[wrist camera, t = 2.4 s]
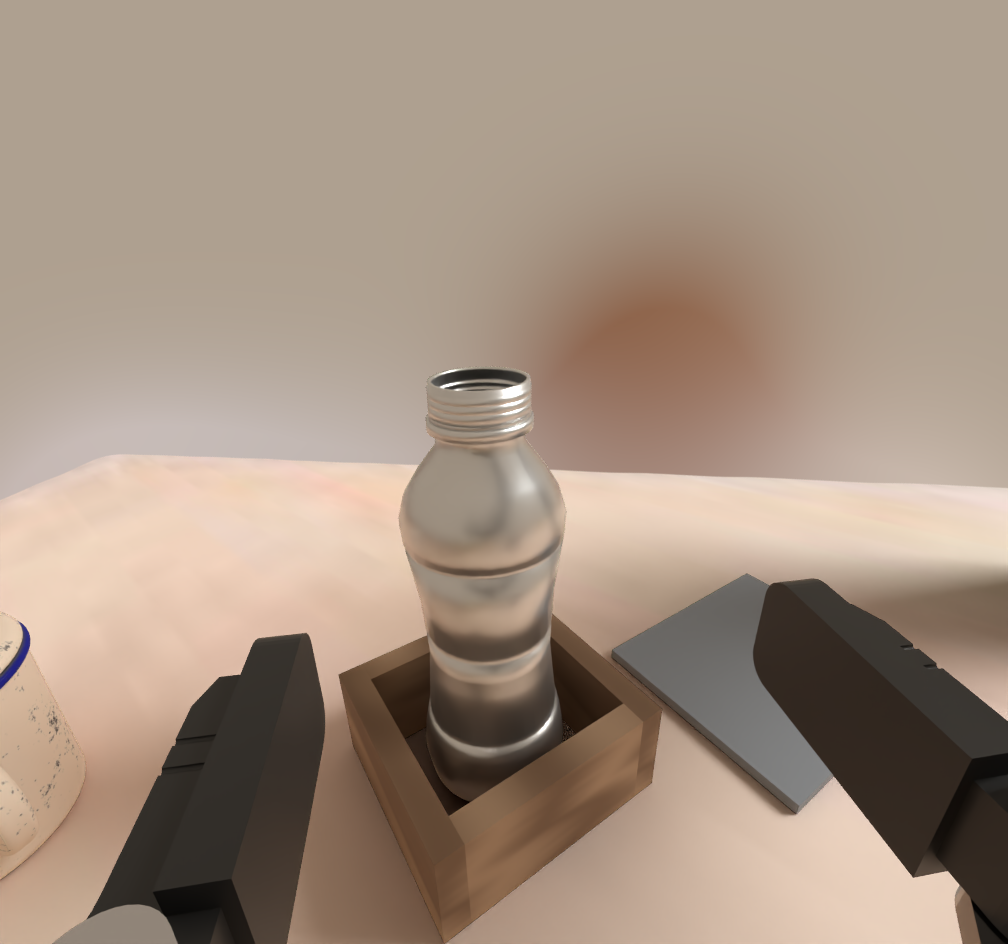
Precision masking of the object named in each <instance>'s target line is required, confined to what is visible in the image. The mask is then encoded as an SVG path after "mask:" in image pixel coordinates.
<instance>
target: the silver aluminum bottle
mask: <svg viewBox="0 0 1008 944" xmlns="http://www.w3.org/2000/svg"><path fill="white" fill-rule="evenodd" d="M426 389H427V403H428V415H427V417H426V430H427V433H428V434H429V435H430V436H432V437H433V438H435V444H434V446H433V447H432V448H431V450H430V451H429V453H428V454H427V455H426V457H425V458H424V459H423V461H422V462H421V464H420V465H419V466H418V468H417V469H416V471H415V473H414V475H413V477H412V478H411V480H410V482H409V484H408V485H407V487H406V489H405V491H404V494H403V497H402V503H401V508H400V513H399V526H400V531H401V535H402V540H403V545H404V547H405V550H406V554H407V558H408V561H409V564H410V567H411V571H412V574H413V577H414V580H415V584H416V587H417V590H418V593H419V597H420V600H421V604H422V610H423V615H424V621H425V626H426V630H427V637H428V643H429V648H430V699H429V705H428V712H427V725H426V741H427V748H428V751H429V754H430V757H431V759H432V762H433V764H434V767H435V769H436V772H437V774H438V776H439V778H440V779H441V781H442V782H443V784H444V785H445V786H446V787H447V788H448V789H449V790H450V791H451V792H452V793H454V794H455V795H457V796H459V797H460V798H462V799H464V800H467V801H470V802H471V801H473V800H475V799H476V798H478V797H479V796H481V795H482V794H484V793H485V792H487V791H488V790H490V789H492V788H493V787H495V786H496V785H498V784H499V783H501V782H502V781H504V780H506V779H507V778H509V777H510V776H512V775H513V774H515V773H516V772H518V771H519V770H521V769H523V768H524V767H526V766H527V765H529V764H530V763H532V762H533V761H535V760H537V759H538V758H540V757H541V756H543V755H544V754H546V753H547V752H549V751H550V750H552V749H554V748H555V747H557V746H558V745H560V744H561V743H562V739H563V722H562V715H561V709H560V703H559V698H558V694H557V691H556V688H555V685H554V676H553V666H552V656H551V646H550V636H551V619H552V608H553V594H554V585H555V580H556V574H557V569H558V563H559V558H560V553H561V547H562V541H563V537H564V531H565V520H566V507H565V503H564V500H563V497H562V493H561V490H560V487H559V484H558V482H557V481H556V479H555V478H554V476H553V475H552V473H551V471H550V470H549V468H548V467H547V465H546V464H545V462H544V461H543V460H542V459H541V457H540V456H539V455H538V454H537V452H536V451H535V450H534V449H533V447H532V446H531V445H530V444H529V443H528V441H527V440H526V435H525V434H527V433H529V432H530V431H531V430H532V428H533V426H534V414H533V411H532V410H531V381H530V375H529V374H528V373H526V372H524V371H521V370H518V369H512V368H505V367H467V368H458V369H452V370H447V371H443V372H440V373H437V374H435V375H433V376H431V377H430V378H428V380H427V387H426Z"/></svg>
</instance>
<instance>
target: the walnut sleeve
mask: <svg viewBox="0 0 1008 944" xmlns="http://www.w3.org/2000/svg"><path fill="white" fill-rule="evenodd" d="M550 646H551V656H552V666H553V676H554V685H555V688H556V691H557V694H558V698H559V703H560V709H561V715H562V719H563V720H564V721H565V722H566V723H567V724H568V725H569V726H570V727H571V728H572V729H573V731H574V732H575V733H576V734H575V735H574V736H572V737H571V738H569V739H568V740H566V741H564V742H563V743H561V744H560V745H558V746H557V747H555V748H554V749H552V750H550V751H549V752H547V753H546V754H544V755H543V756H541V757H540V758H538V759H537V760H535V761H533V762H532V763H530V764H529V765H527V766H526V767H524V768H523V769H521V770H519V771H518V772H516V773H515V774H513V775H512V776H510V777H509V778H507V779H506V780H504V781H502V782H501V783H499V784H498V785H496V786H495V787H493V788H492V789H490V790H488V791H487V792H485V793H484V794H482V795H481V796H479V797H478V798H476V799H475V800H473V801H471V802H470V803H468V804H467V805H465V806H464V807H462V808H461V809H459V810H457V811H456V812H454V813H453V814H451V815H450V816H448V814H447V813H446V811H445V809H444V807H443V805H442V804H441V802H440V800H439V798H438V797H437V795H436V793H435V791H434V790H433V788H432V786H431V784H430V783H429V781H428V779H427V777H426V776H425V774H424V772H423V770H422V769H421V767H420V765H419V763H418V761H417V760H416V758H415V756H414V754H413V753H412V751H411V749H410V747H409V746H408V744H407V742H406V740H405V738H407V737H408V736H410V735H412V734H414V733H416V732H418V731H420V730H421V729H423V728H425V727H426V725H427V712H428V705H429V699H430V648H429V643H428V637H427V636H425V637H422V638H420V639H418V640H416V641H413V642H411V643H409V644H407V645H404V646H402V647H400V648H398V649H395V650H393V651H391V652H389V653H386V654H384V655H382V656H380V657H377V658H375V659H373V660H370V661H368V662H366V663H364V664H361V665H359V666H357V667H355V668H352V669H350V670H348V671H346V672H343V673H341V674H339V679H340V684H341V688H342V693H343V698H344V703H345V708H346V713H347V718H348V723H349V728H350V733H351V738H352V742H353V746H354V748H355V750H356V753H357V755H358V757H359V759H360V761H361V763H362V766H363V768H364V770H365V772H366V774H367V777H368V779H369V781H370V783H371V785H372V787H373V790H374V792H375V794H376V796H377V798H378V800H379V803H380V805H381V807H382V809H383V811H384V814H385V816H386V818H387V820H388V822H389V824H390V827H391V829H392V831H393V833H394V835H395V838H396V840H397V842H398V844H399V846H400V848H401V851H402V853H403V855H404V857H405V859H406V861H407V864H408V866H409V868H410V870H411V872H412V875H413V877H414V879H415V881H416V883H417V885H418V888H419V890H420V892H421V894H422V896H423V898H424V901H425V903H426V905H427V907H428V909H429V912H430V914H431V916H432V918H433V920H434V922H435V925H436V927H437V929H438V931H439V933H440V936H441V938H442V940H443V942H444V944H445V943H446V942H447V941H449V940H450V939H451V938H453V937H454V936H455V935H456V934H458V933H459V932H460V931H462V930H463V929H464V928H465V927H467V926H468V925H469V924H471V923H472V922H473V921H474V920H476V919H477V918H478V917H480V916H481V915H482V914H483V913H485V912H486V911H487V910H489V909H490V908H491V907H492V906H494V905H495V904H496V903H498V902H499V901H500V900H501V899H503V898H504V897H505V896H507V895H508V894H509V893H510V892H512V891H513V890H514V889H516V888H517V887H518V886H519V885H521V884H522V883H523V882H525V881H526V880H527V879H528V878H530V877H531V876H532V875H534V874H535V873H536V872H537V871H539V870H540V869H541V868H543V867H544V866H545V865H546V864H548V863H549V862H550V861H552V860H553V859H554V858H556V857H557V856H558V855H559V854H561V853H562V852H563V851H565V850H566V849H567V848H568V847H570V846H571V845H572V844H574V843H575V842H576V841H577V840H579V839H580V838H581V837H583V836H584V835H585V834H586V833H588V832H589V831H590V830H592V829H593V828H594V827H595V826H597V825H598V824H599V823H601V822H602V821H603V820H604V819H606V818H607V817H608V816H610V815H611V814H612V813H613V812H615V811H616V810H617V809H619V808H620V807H621V806H622V805H624V804H625V803H626V802H628V801H629V800H630V799H631V798H633V797H634V796H635V795H637V794H638V793H639V792H640V791H642V790H643V789H644V788H646V787H647V786H648V785H649V784H651V783H652V777H653V769H654V762H655V755H656V748H657V741H658V734H659V727H660V720H661V713H662V708H660V707H659V706H658V705H657V704H656V703H655V702H654V701H652V700H651V699H650V698H649V697H648V696H647V695H645V694H644V693H643V692H642V691H641V690H640V689H639V688H637V687H636V686H635V685H634V684H633V683H632V682H630V681H629V680H628V679H627V678H626V677H625V676H624V675H622V674H621V673H620V672H619V671H618V670H617V669H615V668H614V667H613V666H612V665H611V664H610V663H609V662H607V661H606V660H605V659H604V658H603V657H602V656H600V655H599V654H598V653H597V652H596V651H595V650H594V649H592V648H591V647H590V646H589V645H588V644H587V643H585V642H584V641H583V640H582V639H581V638H580V637H579V636H577V635H576V634H575V633H574V632H573V631H572V630H570V629H569V628H568V627H567V626H566V625H565V624H564V623H562V622H561V621H560V620H559V619H558V618H557V617H555V616H554V615H553V614H552V619H551V636H550Z"/></svg>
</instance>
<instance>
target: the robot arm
mask: <svg viewBox="0 0 1008 944" xmlns="http://www.w3.org/2000/svg"><path fill="white" fill-rule="evenodd" d="M753 661H754V666H755V670H756V672H757V675H758V677H759V679H760V681H761V683H762V684H763V686H764V687H765V688H766V690H767V691H768V692H769V694H770V695H771V696H772V697H773V699H774V700H775V701H776V703H777V704H778V705H779V706H780V708H781V709H782V710H783V711H784V713H785V714H786V715H787V717H788V718H789V719H790V720H791V722H792V723H793V724H794V726H795V727H796V728H797V729H798V731H799V732H800V733H801V735H802V736H803V737H804V738H805V740H806V741H807V742H808V744H809V745H810V746H811V747H812V749H813V750H814V751H815V752H816V754H817V755H818V756H819V758H820V759H821V760H822V761H823V763H824V764H825V765H826V767H827V768H828V769H829V770H830V772H831V773H832V774H833V776H834V777H835V778H836V779H837V781H838V782H839V783H840V784H841V786H842V787H843V788H844V790H845V791H846V792H847V793H848V795H849V796H850V797H851V799H852V800H853V801H854V802H855V804H856V805H857V806H858V808H859V809H860V810H861V811H862V813H863V814H864V815H865V817H866V818H867V819H868V820H869V822H870V823H871V824H872V825H873V827H874V828H875V829H876V831H877V832H878V833H879V834H880V836H881V837H882V838H883V840H884V841H885V842H886V843H887V845H888V846H889V847H890V849H891V850H892V851H893V852H894V854H895V855H896V856H897V858H898V859H899V860H900V861H901V863H902V864H903V865H904V866H905V868H906V869H907V870H908V872H909V873H910V874H911V875H912V877H913V878H914V877H919V876H924V875H929V874H934V873H939V872H944V871H948V872H949V873H950V874H951V875H952V876H953V877H954V879H955V880H956V881H957V882H958V883H959V885H960V886H959V887H958V889H957V891H956V894H955V908H956V913H957V918H958V923H959V928H960V933H961V938H962V942H963V944H1008V721H1007V720H1006V719H1004V718H1003V717H1002V716H1001V715H999V714H998V713H997V712H996V711H994V710H993V709H992V708H991V707H990V706H988V705H987V704H986V703H985V702H983V701H982V700H981V699H980V698H978V697H977V696H976V695H975V694H974V693H972V692H971V691H970V690H969V689H967V688H966V687H965V686H964V685H962V684H961V683H960V682H959V681H958V680H956V679H955V678H954V677H953V676H951V675H950V674H949V673H948V672H946V671H945V670H944V669H943V668H942V669H938V668H937V666H936V663H935V662H934V661H933V660H932V659H930V658H929V657H928V656H927V655H925V654H924V653H923V652H922V651H921V650H919V649H914V648H913V644H912V643H911V642H909V641H908V640H907V639H906V638H905V637H903V636H902V635H901V634H900V633H898V632H897V631H896V630H895V629H893V628H892V627H891V626H890V625H889V624H887V623H886V622H885V621H883V620H881V619H879V618H877V617H875V616H873V615H871V614H869V613H868V612H866V611H864V610H862V609H860V608H858V607H856V606H854V605H852V604H849V603H848V602H847V601H846V600H844V599H843V598H842V597H841V596H840V595H838V594H837V593H836V592H835V591H834V590H832V589H831V588H830V587H829V586H828V585H826V584H825V583H824V582H822V581H820V580H818V579H805V580H796V581H787V582H778V583H773V584H771V585H770V586H769V587H768V589H767V591H766V594H765V598H764V603H763V607H762V612H761V616H760V621H759V625H758V629H757V634H756V638H755V643H754V647H753ZM324 733H325V711H324V702H323V697H322V692H321V687H320V683H319V678H318V673H317V668H316V663H315V658H314V653H313V649H312V644H311V640H310V637H309V635H308V634H307V633H302V634H293V635H284V636H275V637H266V638H258V639H257V640H255V642H254V643H253V645H252V647H251V650H250V652H249V655H248V657H247V660H246V662H245V665H244V667H243V670H242V672H241V675H233V676H224V677H219V678H218V679H217V680H216V681H215V682H214V683H213V684H212V685H211V686H210V688H209V689H208V690H207V691H206V692H205V693H204V694H203V695H202V696H201V697H200V698H199V699H198V700H197V701H196V702H195V703H194V704H193V705H192V707H191V709H190V711H189V713H188V715H187V717H186V719H185V721H184V723H183V725H182V727H181V729H180V731H179V734H178V736H177V738H176V744H175V746H172V748H171V750H170V752H169V754H168V756H167V758H166V760H165V763H164V765H163V767H162V774H161V776H158V777H157V779H156V781H155V783H154V785H153V787H152V790H151V792H150V794H149V796H148V798H147V800H146V802H145V804H144V806H143V808H142V810H141V812H140V814H139V816H138V819H137V821H136V823H135V825H134V827H133V829H132V831H131V833H130V835H129V837H128V839H127V841H126V843H125V846H124V848H123V850H122V852H121V854H120V856H119V858H118V860H117V862H116V864H115V866H114V868H113V870H112V872H111V875H110V877H109V879H108V881H107V883H106V885H105V887H104V889H103V891H102V893H101V895H100V897H99V899H98V901H97V903H96V905H95V906H94V908H93V910H92V912H91V913H90V915H89V916H88V918H87V919H86V920H85V921H83V922H82V923H80V924H79V925H77V926H75V927H74V928H72V929H71V930H69V931H68V932H67V933H65V934H64V935H63V936H62V937H60V938H59V939H58V940H56V941H55V942H54V943H53V944H287V938H288V933H289V928H290V922H291V917H292V911H293V906H294V900H295V895H296V890H297V884H298V879H299V873H300V868H301V862H302V857H303V852H304V846H305V841H306V835H307V830H308V825H309V819H310V814H311V808H312V803H313V797H314V792H315V787H316V781H317V776H318V770H319V765H320V759H321V754H322V749H323V743H324Z"/></svg>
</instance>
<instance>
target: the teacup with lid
mask: <svg viewBox="0 0 1008 944" xmlns="http://www.w3.org/2000/svg"><path fill="white" fill-rule="evenodd" d="M29 647H30V635H29V632H28V630H27V628H26V627H25V626H24V625H23V624H22V623H20V622H19V621H17V620H16V619H15V618H13V617H12V616H10V615H8V614H5V613H3V612H0V880H1V879H2V878H3V877H5V876H6V875H7V874H9V873H10V872H11V871H13V870H14V869H15V868H16V867H18V866H19V865H20V864H21V863H23V862H24V861H25V860H26V859H27V858H28V857H30V856H31V855H32V854H33V853H34V852H35V851H36V850H37V849H38V848H39V847H40V846H41V845H42V844H43V843H44V842H45V841H46V840H47V839H48V838H49V837H50V836H51V835H52V834H53V832H54V831H55V830H56V829H57V828H58V827H59V825H60V824H61V823H62V821H63V820H64V819H65V817H66V816H67V815H68V813H69V811H70V810H71V808H72V807H73V805H74V803H75V802H76V800H77V798H78V796H79V794H80V791H81V789H82V786H83V783H84V779H85V773H86V762H85V758H84V754H83V752H82V751H81V749H80V747H79V745H78V743H77V741H76V739H75V737H74V735H73V733H72V731H71V729H70V727H69V725H68V723H67V721H66V720H65V718H64V716H63V714H62V712H61V710H60V708H59V706H58V704H57V702H56V700H55V698H54V696H53V694H52V692H51V690H50V689H49V687H48V685H47V683H46V681H45V679H44V677H43V675H42V673H41V671H40V669H39V667H38V665H37V663H36V661H35V659H34V658H33V656H32V654H31V652H30V650H29Z"/></svg>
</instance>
